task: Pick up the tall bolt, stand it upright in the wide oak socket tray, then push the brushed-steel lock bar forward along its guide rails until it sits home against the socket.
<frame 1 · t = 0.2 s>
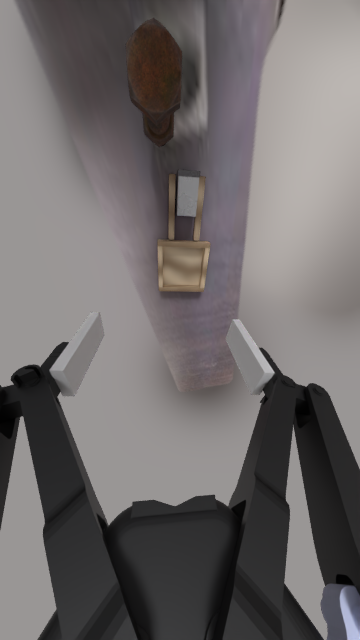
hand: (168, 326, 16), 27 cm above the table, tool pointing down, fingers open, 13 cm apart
bolt: (159, 133, 28), on the table
lock bar: (186, 195, 31), point 2 cm above the table, slide at 0.0 cm
socket: (181, 265, 40), on the table
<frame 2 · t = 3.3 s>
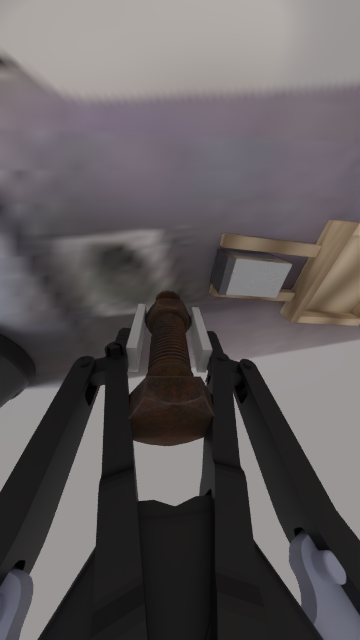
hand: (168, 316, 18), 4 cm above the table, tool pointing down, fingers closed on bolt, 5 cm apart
bolt: (167, 299, 21), on the table, touching gripper
lock bar: (246, 273, 18), point 2 cm above the table, slide at 0.0 cm
socket: (339, 277, 21), on the table
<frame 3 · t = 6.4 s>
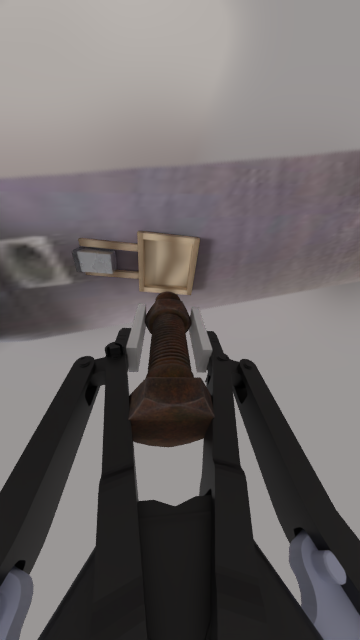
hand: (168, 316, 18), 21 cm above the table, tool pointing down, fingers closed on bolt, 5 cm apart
bolt: (167, 300, 21), point 17 cm above the table, touching gripper
lock bar: (96, 260, 32), point 2 cm above the table, slide at 0.0 cm
socket: (167, 263, 35), on the table
when the fingers open (5 cm above the table, at t = 9.5 s): bolt stays where it is, resting on socket.
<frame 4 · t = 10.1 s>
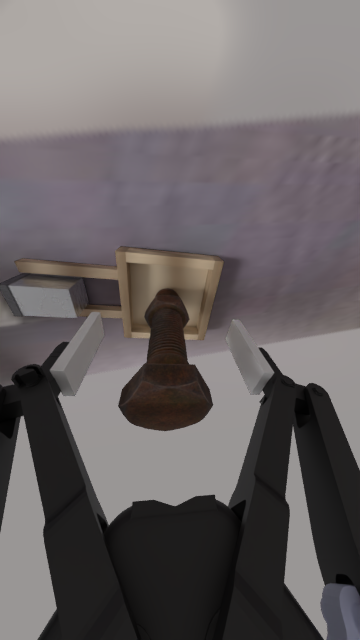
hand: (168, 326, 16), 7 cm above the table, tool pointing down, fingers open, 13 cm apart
bolt: (167, 296, 22), resting on socket
lock bar: (50, 295, 19), point 2 cm above the table, slide at 0.0 cm
socket: (167, 295, 22), on the table
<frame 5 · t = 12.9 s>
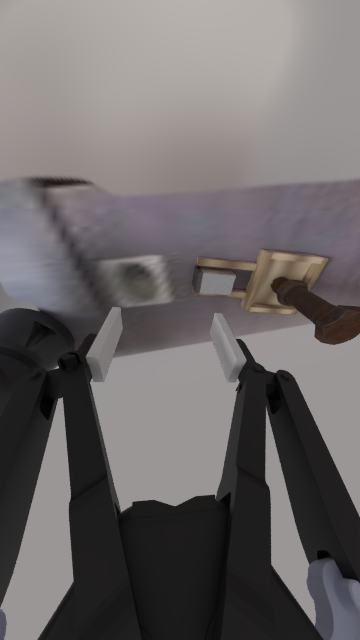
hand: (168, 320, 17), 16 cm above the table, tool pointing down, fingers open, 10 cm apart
bolt: (276, 282, 32), resting on socket
lock bar: (212, 280, 29), point 2 cm above the table, slide at 0.0 cm
socket: (276, 282, 33), on the table
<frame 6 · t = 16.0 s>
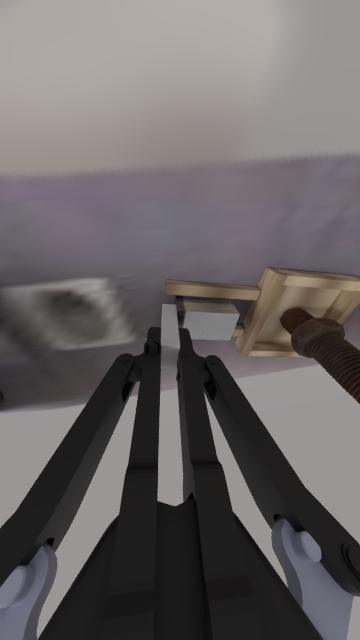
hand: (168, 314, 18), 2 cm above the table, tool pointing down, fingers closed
bolt: (288, 315, 22), resting on socket
lock bar: (202, 317, 19), point 2 cm above the table, slide at 1.5 cm, touching gripper
socket: (287, 313, 22), on the table
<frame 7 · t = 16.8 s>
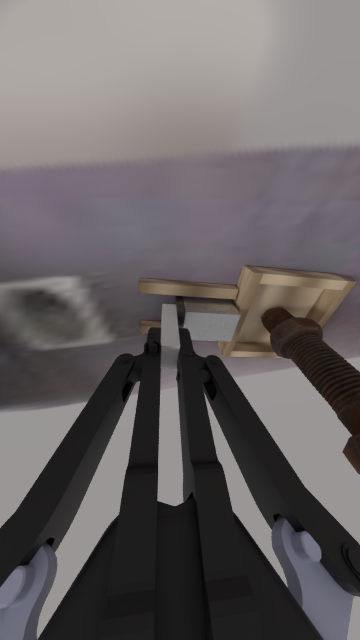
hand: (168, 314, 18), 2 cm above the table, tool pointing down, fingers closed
bolt: (271, 314, 21), resting on socket
lock bar: (203, 318, 19), point 2 cm above the table, slide at 4.3 cm, touching gripper
socket: (270, 312, 21), on the table
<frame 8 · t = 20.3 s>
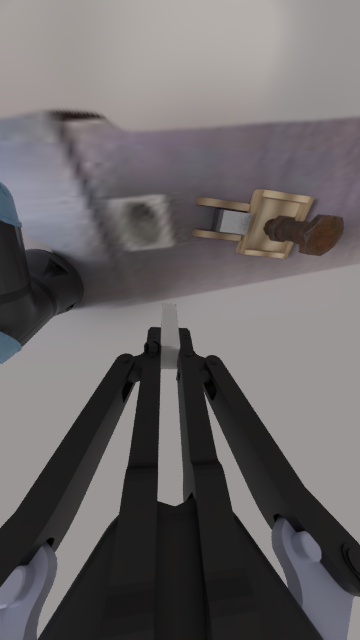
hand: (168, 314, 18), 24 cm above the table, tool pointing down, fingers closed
bolt: (269, 226, 36), resting on socket
lock bar: (230, 222, 33), point 2 cm above the table, slide at 4.3 cm
socket: (268, 226, 36), on the table
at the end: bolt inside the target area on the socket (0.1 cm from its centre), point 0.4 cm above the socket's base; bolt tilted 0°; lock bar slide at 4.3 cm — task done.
